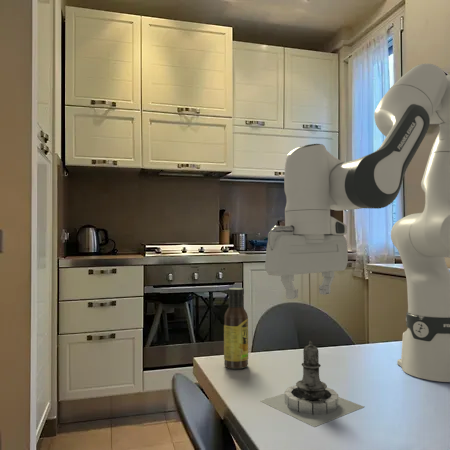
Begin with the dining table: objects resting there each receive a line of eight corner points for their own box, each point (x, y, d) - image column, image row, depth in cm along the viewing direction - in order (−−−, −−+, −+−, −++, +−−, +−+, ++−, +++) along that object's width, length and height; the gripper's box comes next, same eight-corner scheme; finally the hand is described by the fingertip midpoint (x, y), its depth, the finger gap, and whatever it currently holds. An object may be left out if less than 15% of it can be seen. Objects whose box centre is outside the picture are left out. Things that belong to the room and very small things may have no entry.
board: (309, 388, 88) (309, 385, 88) (364, 409, 77) (364, 406, 77) (260, 404, 80) (260, 400, 80) (314, 430, 69) (314, 426, 69)
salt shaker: (327, 410, 75) (326, 345, 76) (295, 408, 77) (294, 343, 77) (326, 398, 81) (326, 338, 81) (296, 396, 82) (296, 336, 83)
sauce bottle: (247, 370, 101) (247, 290, 102) (222, 370, 101) (222, 289, 102) (249, 363, 107) (248, 287, 108) (225, 362, 108) (224, 287, 109)
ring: (309, 390, 85) (309, 381, 86) (348, 405, 77) (348, 395, 78) (274, 401, 80) (274, 391, 80) (313, 419, 72) (313, 408, 72)
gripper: (280, 224, 72) (282, 303, 71) (352, 226, 84) (354, 293, 84) (257, 226, 77) (258, 299, 77) (328, 227, 89) (329, 290, 89)
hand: (309, 296), depth 80 cm, fingers open, 8 cm apart
